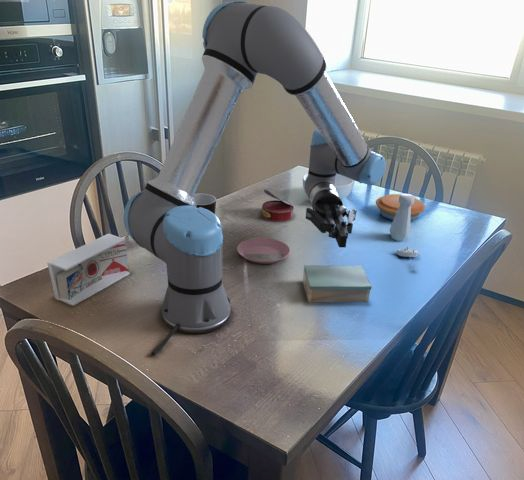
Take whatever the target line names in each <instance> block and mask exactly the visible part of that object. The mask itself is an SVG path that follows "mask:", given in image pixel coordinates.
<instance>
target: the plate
mask: <svg viewBox="0 0 524 480" xmlns="http://www.w3.org/2000/svg"><path fill="white" fill-rule="evenodd" d="M236 251H237V252H238V255H240V256H241V257H242V258H243V259H245V260H246V261H248V262H251V263H254V264H260V265H270V264H276V263H279V262H281V261H283V260H284V259H285V258H287V257H288V256H290V253H291V249H290V246H289V245H288V244H286V243H285V242H283V241H281V240H278V239H276V238H270V237H253V238H249V239H248V238H247V239H245V240H243V241H241V242H240V243H239V244H238V245H237V247H236ZM248 254H249V255H258V254H259V255H283V256H282V257H281V258H279V259H274V260H273V259H272V260H258V259H252V258H249V257H247V255H248Z"/></svg>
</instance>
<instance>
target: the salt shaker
mask: <svg viewBox="0 0 524 480" xmlns="http://www.w3.org/2000/svg"><path fill="white" fill-rule="evenodd" d="M414 198H415V197H414V195H412V194H410V193H402V194H400V196H399V199H398V202H399V203H400V205H399V208H398V210H397V213H396V215H395V218H394V220H392V223H391V225H390V227H389V233H390V237H391V239H392V240H394V241H396V242H403V241H405V240H406V239H407V238H408V237H409V235H410V233H411V221H410V219H411V205H412V204H413V203H414Z"/></svg>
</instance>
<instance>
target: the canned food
mask: <svg viewBox="0 0 524 480" xmlns="http://www.w3.org/2000/svg"><path fill="white" fill-rule="evenodd" d="M263 192H264V193H265V194H266V195H268V196H269V197H271V198H274V199H275V200H268V201H265V202H263V203H262V204H261V217H262V218H263V219H265V220H267V221H270V222H277V223H280V222H288V221H290V220H292V219H293V218H294V209H295V207H294V204H292V203H290V202H288V201H286V200H283V199H280V198H279V197H278V196H276V195H274V193H272V192H271V191H269V190H267V189H265V188H264V189H263Z"/></svg>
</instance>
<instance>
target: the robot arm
mask: <svg viewBox="0 0 524 480" xmlns="http://www.w3.org/2000/svg"><path fill="white" fill-rule="evenodd" d="M202 39H203V42H202V44H203V45H202V46H203V49H204V51H203V54H202V56H201V61H202V64H203V67H204V70H203V73H202V75H201V77H200V79H199V82H198V85H197V87H196V89H195V91H194V93H193V95H192V98H191V100H190V103H189V104H188V106H187V109H186V112H185V114H184V116H183V118H182V121H181V122H180V125H179V128H178V129H177V132H176V134H175V137H174V139H173V141H172V143H171V146H170V147H169V150H168V153H167V155H166V157H165V159H164V162H163V164H162V166H161V169H160V171H159V173H158V175H157V177H155V178H153V179H150V180H148V181H147V182H146V184H145V187H144V189H143V190H142V191H139V192H137V194H133V195H132V197H130V198H129V199H128V201H127V203H126V205H125V207H124V211H123V225H124V228H125V230H126V233H127V235H128V236H129V237H130V238H131V239H132V241H134V242H135V243H136V245H138V247H141V248H143V249H145V250H146V251H148V252H149V253H150V254H153V256H155V257H156V258H158V259H159V260H160V261H162V262H163V263H165V266H166V275H167V288H166V291H165V294H164V298H163V301H162V305H161V318H162V321H163V323H164V324H165V325H166V326H167V327H169V328H170V329H171V330H170V332H168V334H167V335H166V336H165V337H164V339H163V340H162V342H161V343H160V344H159V345H158V346H157V347H156V348H155V349H153V351H152V352H151V355H152V356H156V355H157V354H158V353H159V352H160V351H161V350H163V348H164V347H165V346H166V344H167V343H168V342H169V340H170V339H171V338H172V337H173V335H174V334H175V333H176V332H179V333H183V334H191V335H192V334H193V335H198V334H207V333H211V332H214V331H217V330H219V329H221V328H223V327H224V326H225V325H226V324H227V323H229V321H230V319H231V313H232V312H231V311H232V310H231V298H229V297H228V295H227V293H226V290H225V288H224V285H223V241H224V236H223V229H222V223H221V221H220V219H219V217H218V216H217V215H216V213H215V214H214V213H212V212H211V211H209V210H207V209H204V208H201V207H199V208H196V207H197V206H196V203H195V200H194V194H196V191H197V190H198V188H199V185H200V183H201V181H202V179H203V177H204V174H205V172H206V170H207V168H208V166H209V164H210V161H211V159H212V157H213V155H214V152H215V150H216V148H217V146H218V144H219V142H220V140H221V137H222V135H223V133H224V131H225V128H226V126H227V124H228V122H229V120H230V118H231V116H232V113H233V112H234V109H235V107H236V104H237V103H238V100H239V98H240V95H241V93H242V92H243V91H246V90H249V89H251V88H252V87H253V85H254V83H255V81H256V78H257V76H258V74H260V75H261V74H262V75H266V76H268V77H270V78H271V79H274V80H275V81H276V82H278V83H279V84H280V85H281V87H283V89H284V91H285V92H286V93H287V94H289V95H291V96H294V97H296V99H297V100H298V102H299V103H300V105H301V107H302V108H303V109H304V111H305V112H306V114H307V115H308V117H309V118H310V120H311V122H312V123H313V124H314V126H315V127H316V129H314V130H313V132H312V137H311V143H310V149H309V150H310V151H309V162H308V163H309V164H308V171H307V173H308V176H307V178H306V180H305V190H304V192H305V191H306V192H305V194H306V196H307V198H308V200H309V202H310V205H311V208H310V207H307V208H305V219H306V220H308V221H310V222H311V224H313V226H314V227H316V228H317V230H318V231H319V232H320V233H321V234H326V233H328V237H329V238H331V239H335V241H336V243H337V246H338V248H347V241H348V238H349V235H350V234H352V233H353V226H354V221H355V220H356V217H357V209H356V208H352V209H348V210H347V207H345V206H344V204H343V201H342V200H343V199H341V198H340V197H339V194H338V192H337V191H336V189H335V178H336V173H337V174H340V175H342V176H345V177H347V178H350V179H352V180H354V181H355V182H358V183H359V184H364V185H368V186H374V185H376V184H378V183H379V182H380V181H381V180H382V178H383V176H384V174H385V172H386V167H387V163H386V159H385V157H384V156H383V155H381V154H378V152H375V151H371V149H370V147H369V145H368V144H367V141H366V140H365V138H364V137H363V135H362V133H361V132H360V131H361V130H360V129H359V128H358V126H357V124H356V123H355V121H354V119H353V117H352V115H351V114H350V112H349V110H348V108H347V106H346V105H345V103H344V102H343V100H342V98H341V96H340V94H339V92H338V91H337V89H336V87H335V85H334V84H333V82H332V79H331V78H330V77H329V75H328V73H327V60H326V59H325V57H324V55H323V53H322V51H321V49H320V48H319V46H318V45H317V43H316V41H315V39H314V38H313V37H312V36H311V34H310V33H309V32H308V31H307V29H306V28H305V27H304V26H303V25H302V24H301V23H300V21H299V20H298V19H296V17H295V16H293V15H292V14H291V13H290V12H288V11H287V10H285V9H283V8H281V7H279V6H273V5H264V4H263V5H262V4H255V3H250V2H249V3H248V2H246V1H243V0H234V1H226V2H222V3H219V4H218V5H217V6H215V7H214V8H213V9H212V10H211V11H210V12H209V14H208V16H207V17H206V19H205V21H204V23H203V28H202ZM344 217H346V221H345V219H344Z"/></svg>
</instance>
